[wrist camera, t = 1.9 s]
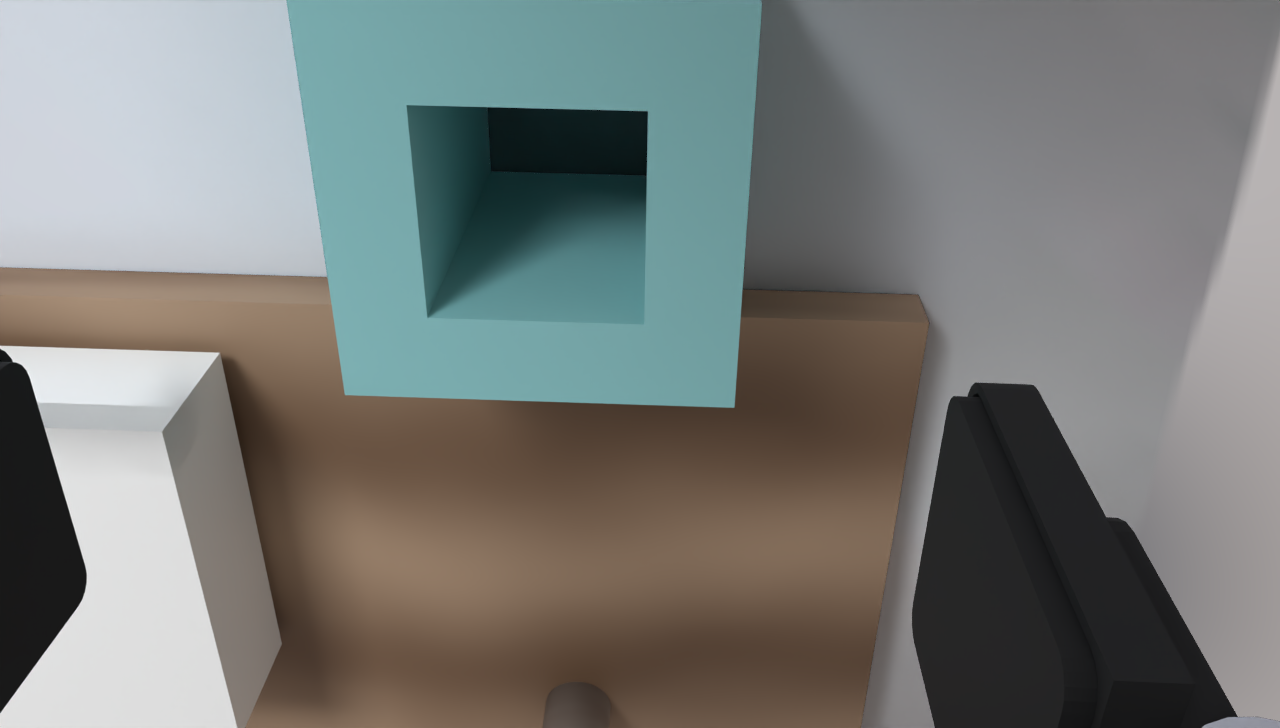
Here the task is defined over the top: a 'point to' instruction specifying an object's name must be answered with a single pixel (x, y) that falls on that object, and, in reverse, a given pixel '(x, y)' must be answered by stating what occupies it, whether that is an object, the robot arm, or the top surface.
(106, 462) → the cover
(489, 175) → the teal piece
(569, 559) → the board
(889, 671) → the top surface
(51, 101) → the top surface
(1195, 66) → the top surface
